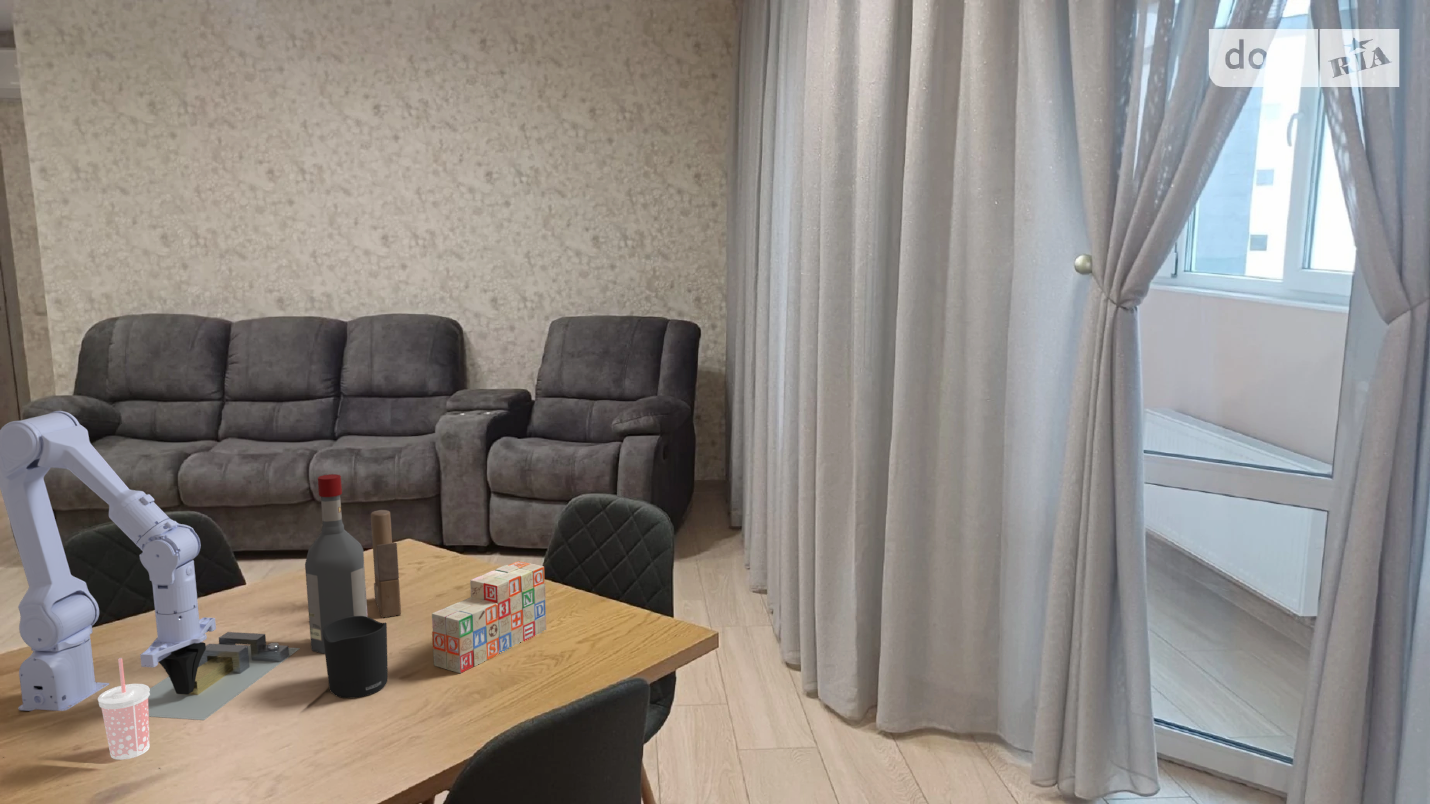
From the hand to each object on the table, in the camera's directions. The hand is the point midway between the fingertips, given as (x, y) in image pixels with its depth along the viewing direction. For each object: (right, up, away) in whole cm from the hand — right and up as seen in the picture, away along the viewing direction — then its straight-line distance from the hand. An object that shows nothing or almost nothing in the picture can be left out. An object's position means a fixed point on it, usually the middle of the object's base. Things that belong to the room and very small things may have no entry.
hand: (184, 692), depth 155 cm
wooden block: (+19, +5, +39) cm, 43 cm away
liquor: (+16, +2, +21) cm, 27 cm away
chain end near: (-1, +1, +10) cm, 10 cm away
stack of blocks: (+43, +2, +20) cm, 47 cm away
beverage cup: (+1, -4, -16) cm, 16 cm away
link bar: (+1, 0, +7) cm, 7 cm away
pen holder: (+25, -1, +5) cm, 25 cm away
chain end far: (+4, +2, +15) cm, 15 cm away
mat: (+1, 0, +7) cm, 7 cm away
